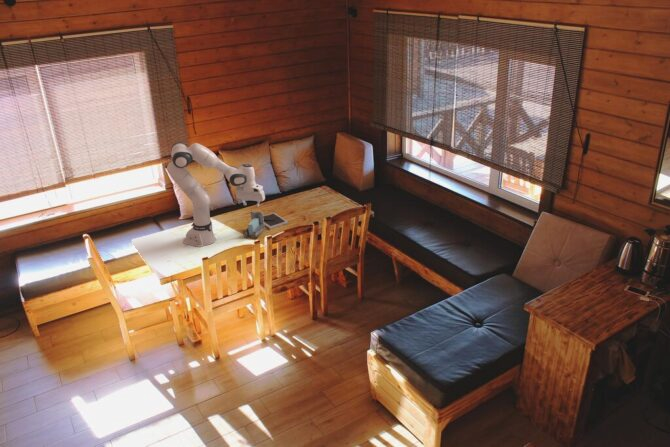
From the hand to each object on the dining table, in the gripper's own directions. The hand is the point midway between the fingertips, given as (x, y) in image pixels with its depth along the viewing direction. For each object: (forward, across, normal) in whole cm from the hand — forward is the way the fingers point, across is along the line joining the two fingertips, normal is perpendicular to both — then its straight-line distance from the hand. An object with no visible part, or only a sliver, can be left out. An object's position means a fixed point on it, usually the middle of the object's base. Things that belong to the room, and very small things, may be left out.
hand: (251, 205), depth 398 cm
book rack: (+22, 0, 0) cm, 22 cm away
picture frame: (+22, +5, +21) cm, 31 cm away
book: (+20, 0, 0) cm, 20 cm away
